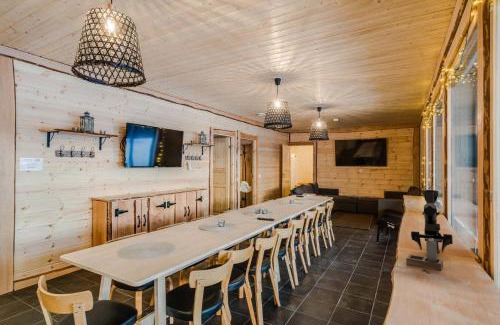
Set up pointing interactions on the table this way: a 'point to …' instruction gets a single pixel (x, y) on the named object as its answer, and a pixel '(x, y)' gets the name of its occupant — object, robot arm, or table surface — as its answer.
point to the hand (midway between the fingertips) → (431, 251)
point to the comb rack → (424, 262)
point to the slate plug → (431, 250)
